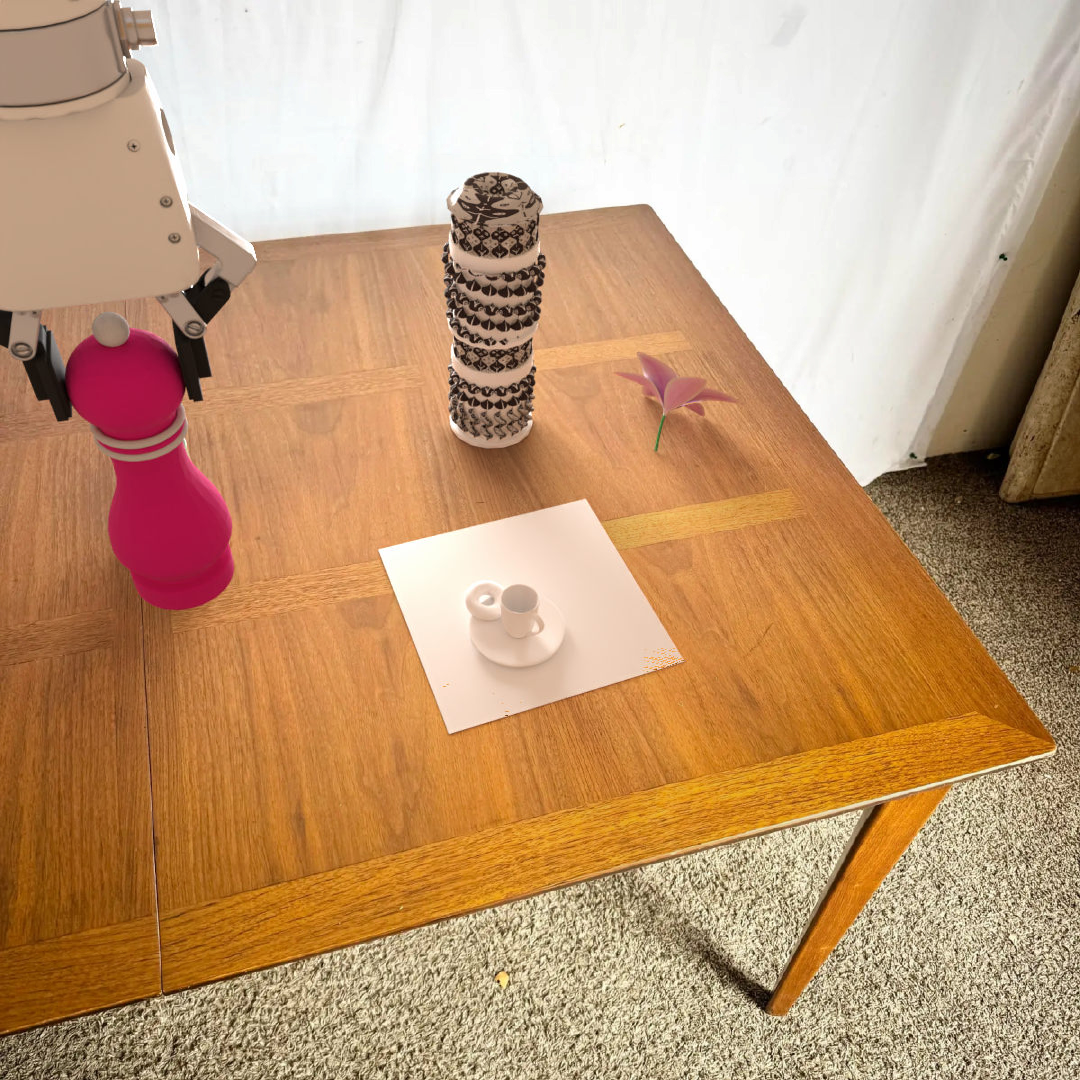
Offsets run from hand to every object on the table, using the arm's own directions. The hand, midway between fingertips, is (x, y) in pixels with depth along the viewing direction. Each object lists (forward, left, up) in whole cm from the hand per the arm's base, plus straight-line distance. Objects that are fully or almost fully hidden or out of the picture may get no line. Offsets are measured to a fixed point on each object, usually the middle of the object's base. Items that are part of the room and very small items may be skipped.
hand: (130, 393), depth 52 cm
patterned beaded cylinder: (+21, +33, -29) cm, 49 cm away
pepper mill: (0, 0, -15) cm, 15 cm away
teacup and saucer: (+23, +9, -29) cm, 38 cm away
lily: (+39, +32, -29) cm, 58 cm away
